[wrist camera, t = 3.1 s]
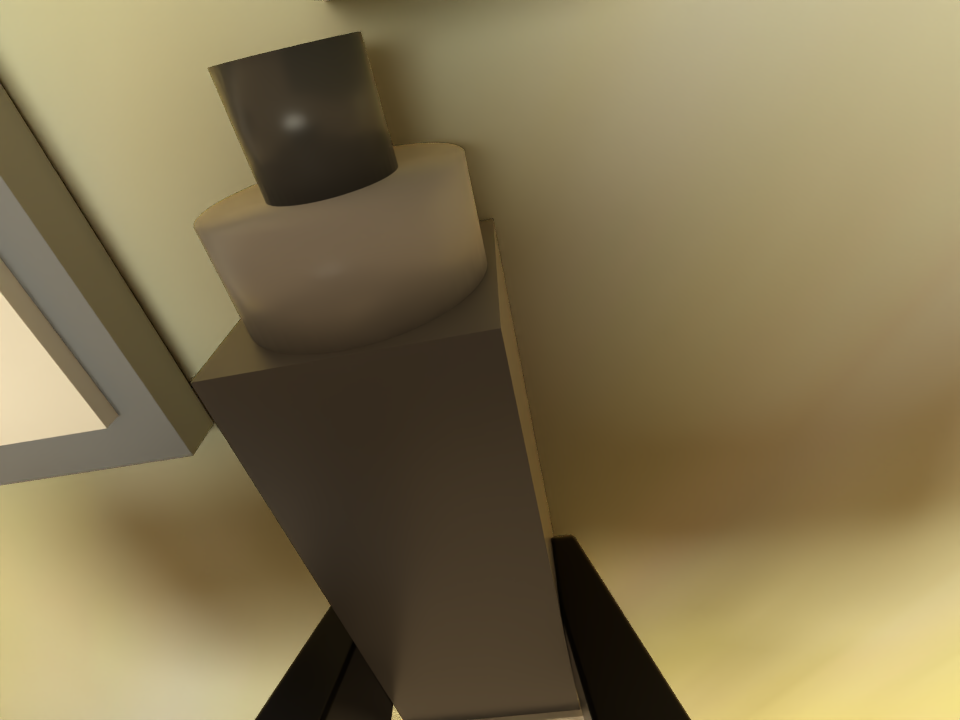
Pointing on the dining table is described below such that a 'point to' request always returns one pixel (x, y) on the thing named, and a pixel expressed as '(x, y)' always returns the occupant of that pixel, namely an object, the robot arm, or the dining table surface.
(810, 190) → the dining table surface
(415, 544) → the black marker
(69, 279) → the whiteboard
